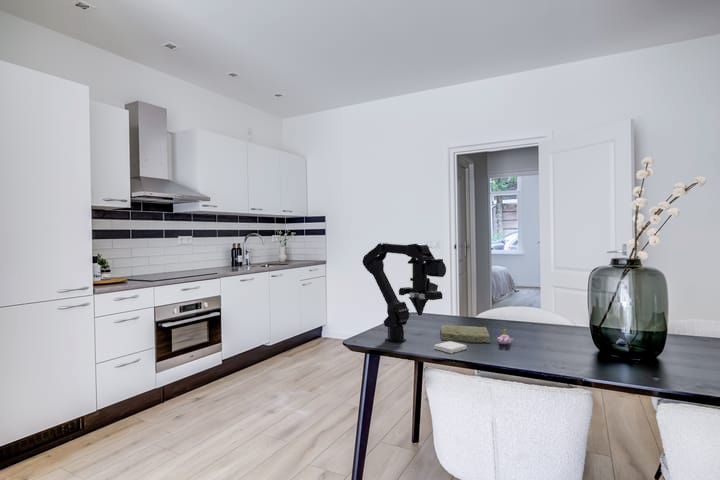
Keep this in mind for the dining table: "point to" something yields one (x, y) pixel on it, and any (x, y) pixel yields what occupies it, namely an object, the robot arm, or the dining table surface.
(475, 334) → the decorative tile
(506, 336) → the pink bulbous piece
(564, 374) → the dining table surface
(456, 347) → the standing tile
